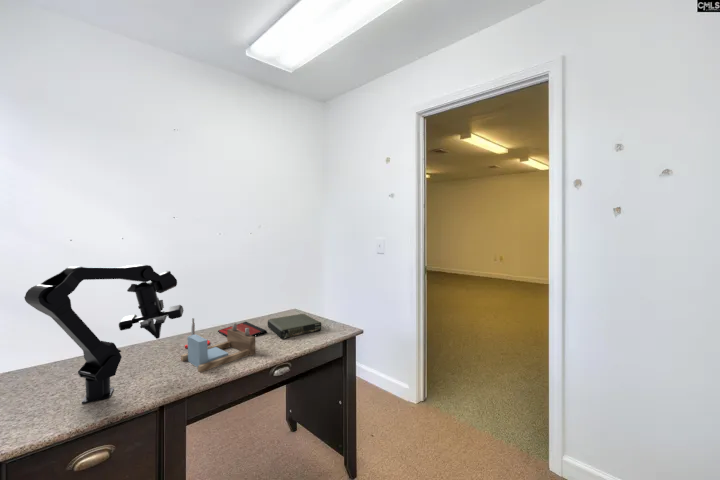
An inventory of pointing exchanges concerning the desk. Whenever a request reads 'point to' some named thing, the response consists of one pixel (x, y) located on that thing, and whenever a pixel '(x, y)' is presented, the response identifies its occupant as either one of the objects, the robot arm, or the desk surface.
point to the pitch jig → (235, 340)
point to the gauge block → (202, 351)
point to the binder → (241, 327)
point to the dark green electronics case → (293, 325)
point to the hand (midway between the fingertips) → (158, 338)
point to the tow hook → (194, 331)
